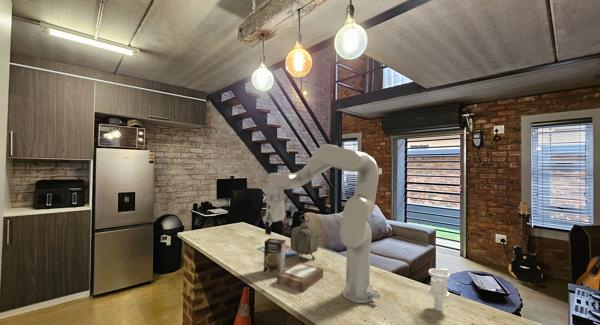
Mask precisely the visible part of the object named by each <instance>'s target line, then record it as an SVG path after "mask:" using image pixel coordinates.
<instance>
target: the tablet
mask: <svg viewBox="0 0 600 325" xmlns="http://www.w3.org/2000/svg"><path fill="white" fill-rule="evenodd" d="M256 250H258V251H261V252H262V253H264V246H261V247H257V248H256ZM297 255H299V254H298V253H297V252H295V251H293V250H292V249H291V245H287V244H285V260H286V259H288V258H291V257H294V256H297Z"/></svg>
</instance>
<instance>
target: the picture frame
mask: <svg viewBox="0 0 600 325" xmlns="http://www.w3.org/2000/svg"><path fill="white" fill-rule="evenodd" d="M323 278H324V268H322V267H318V266H314V265H311V264H307V263H303V262H297V263H296V264H294V265H292V266H290V267H288V268H286V269H285V270H284V271H282V272H281V273H279V274H277V276H276V284H278V285H281V286H284V287H287V288H289V289H293V290H295V291H298V292H301V293H304V292H306V290H308V289H309V288H310V287H312V286H313V285H315V284H316V283H317V282H319V281H320V280H321V279H323Z"/></svg>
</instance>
